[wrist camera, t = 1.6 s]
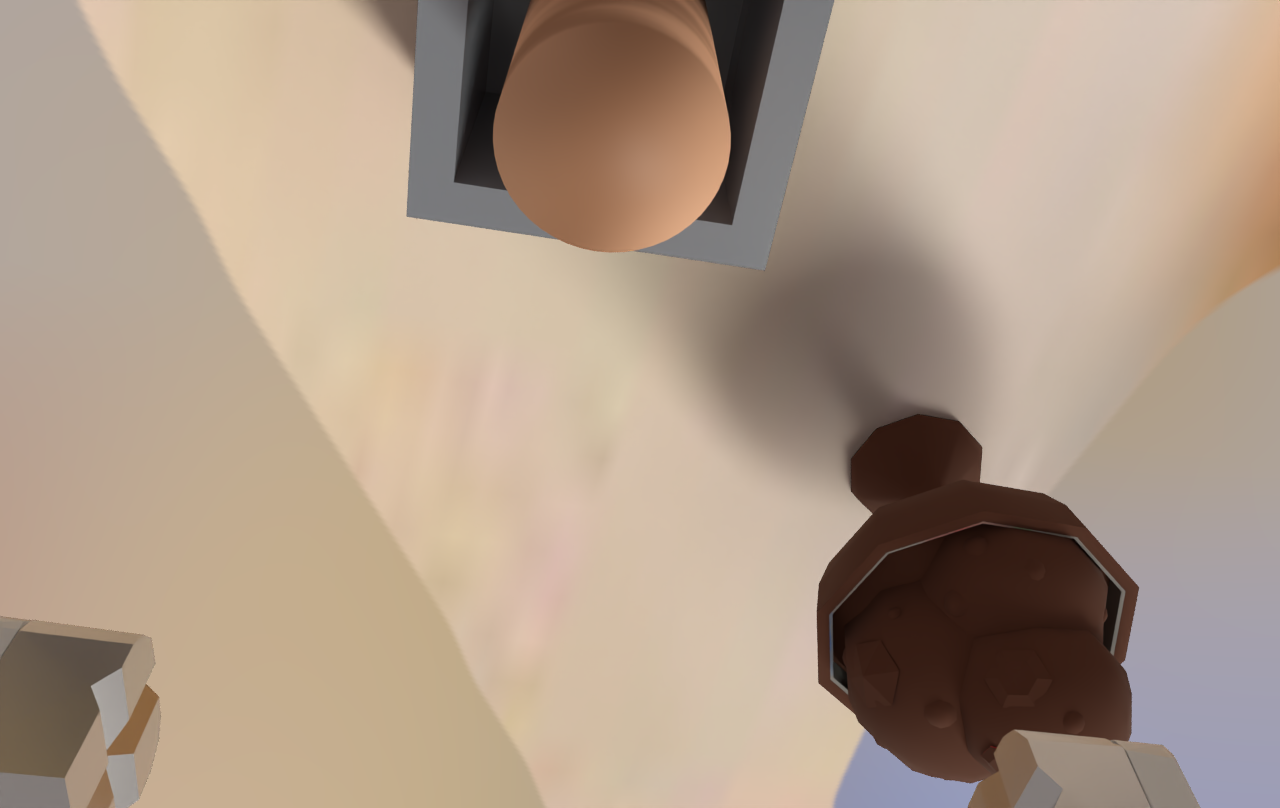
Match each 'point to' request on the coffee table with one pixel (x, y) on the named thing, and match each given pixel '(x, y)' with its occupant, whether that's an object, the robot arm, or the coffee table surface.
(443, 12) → the grey open square box
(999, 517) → the ice cream bowl
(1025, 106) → the coffee table surface
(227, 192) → the coffee table surface
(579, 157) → the peg
